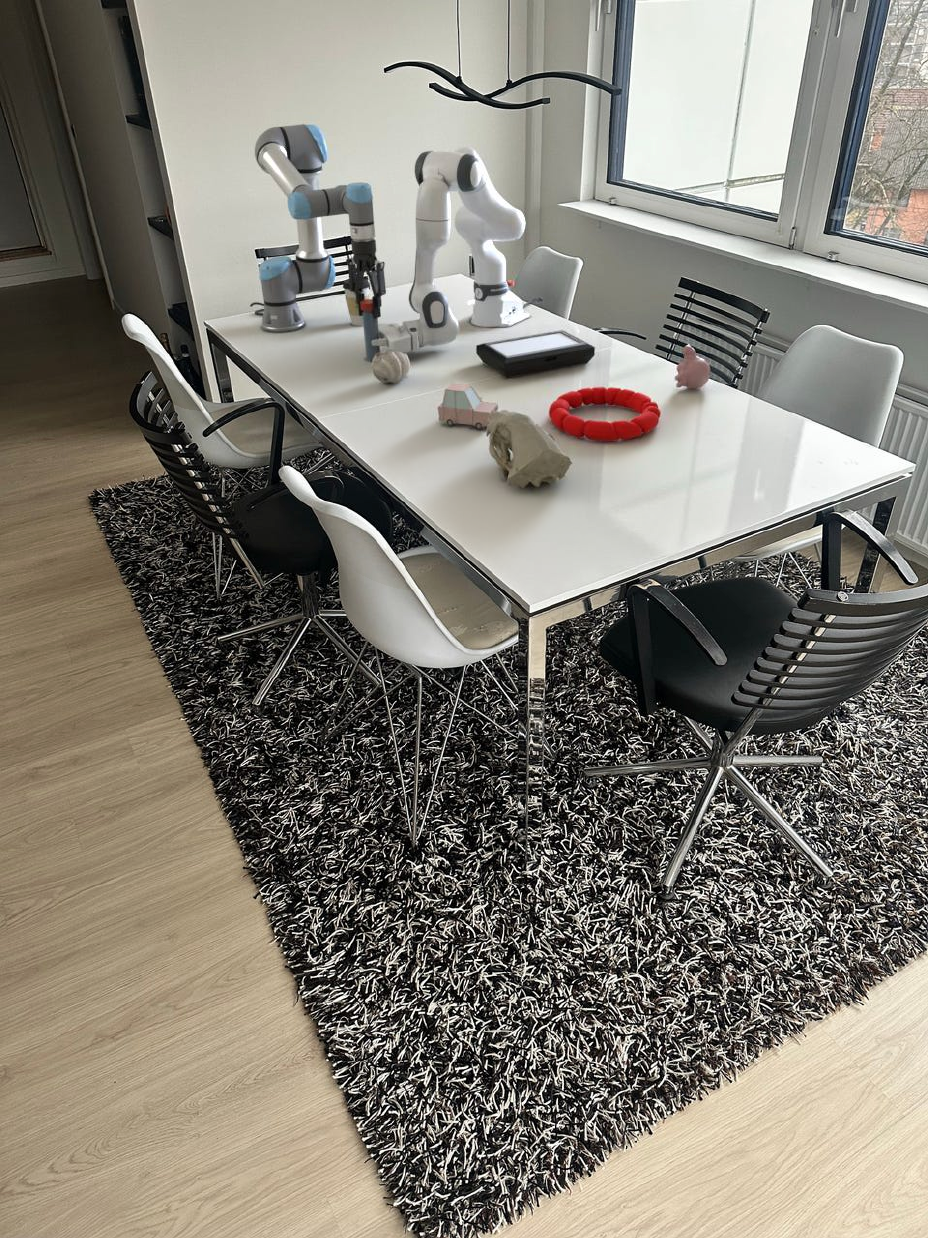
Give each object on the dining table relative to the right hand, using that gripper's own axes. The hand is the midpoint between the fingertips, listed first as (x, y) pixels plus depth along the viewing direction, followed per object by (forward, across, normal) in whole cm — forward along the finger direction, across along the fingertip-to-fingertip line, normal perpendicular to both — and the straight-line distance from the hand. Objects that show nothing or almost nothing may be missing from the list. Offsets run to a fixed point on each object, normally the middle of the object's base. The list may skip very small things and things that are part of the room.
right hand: (369, 339), depth 290 cm
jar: (-1, 0, +6) cm, 6 cm away
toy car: (-12, +64, +6) cm, 66 cm away
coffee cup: (-6, -41, +6) cm, 42 cm away
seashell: (-1, +24, +6) cm, 25 cm away
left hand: (-1, 0, -8) cm, 8 cm away
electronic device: (-48, +26, +6) cm, 55 cm away
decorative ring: (-46, +78, +6) cm, 91 cm away
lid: (-1, 0, -12) cm, 12 cm away
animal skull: (-14, +98, +6) cm, 99 cm away
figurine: (-81, +65, +6) cm, 104 cm away
